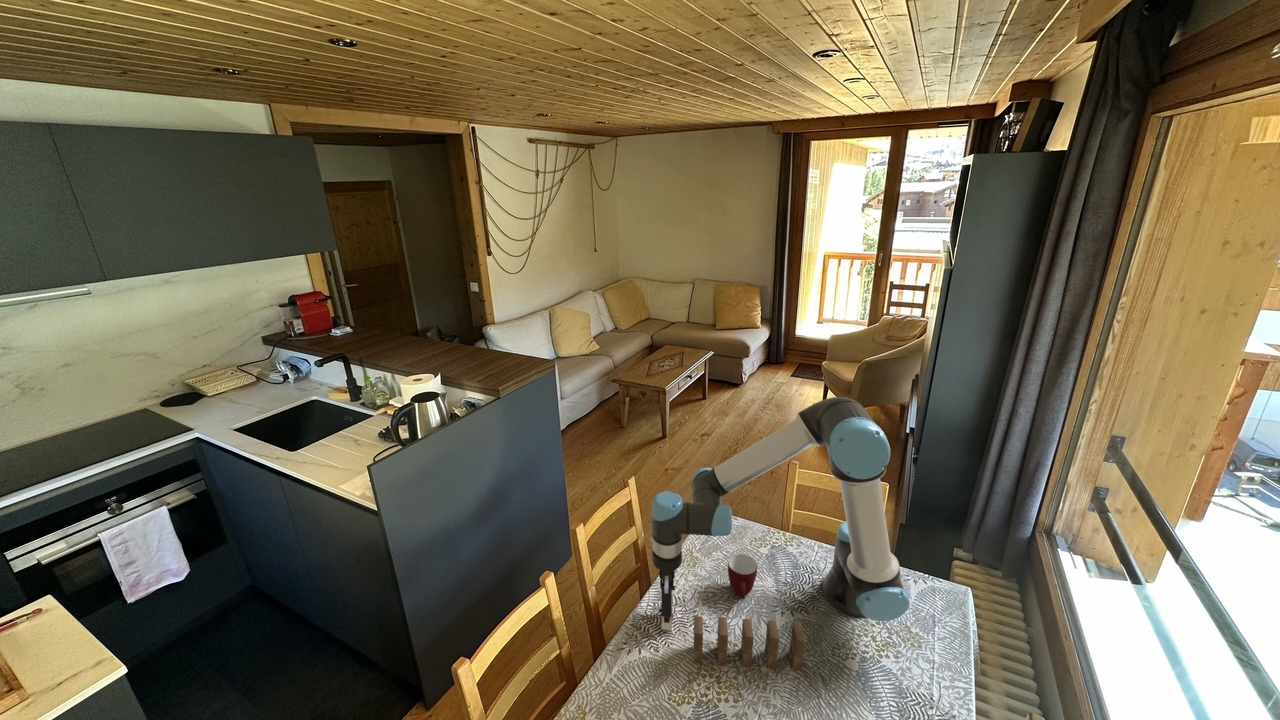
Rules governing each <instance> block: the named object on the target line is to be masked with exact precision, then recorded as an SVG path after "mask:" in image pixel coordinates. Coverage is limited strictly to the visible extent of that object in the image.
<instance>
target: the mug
mask: <svg viewBox="0 0 1280 720" xmlns="http://www.w3.org/2000/svg"><path fill="white" fill-rule="evenodd" d="M727 563H728V564H727V574H728V579H729V585H730V588H731V589H732V592H733V593H734V594H735V596H738V597H739V599H740V600H741V599H742V600H744V599H745V597H747V596H748V594H750V592H751V591H752V589H753V587H754V585H755V582H756V580H757V579H756V578H757V575H758V573H757V572H758V564H757V561H756V560H755V559H754V558H753V557H751V556H750V555H748V554H742V553H741V554H740V553H738V554H734V555H732V556H730V558H729V559H728V562H727Z"/></svg>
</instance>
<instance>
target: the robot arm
mask: <svg viewBox="0 0 1280 720" xmlns="http://www.w3.org/2000/svg"><path fill="white" fill-rule="evenodd" d="M823 445H825V446H826V452H827V457H828V462H829V468H830V473H831V475H833V477H834V478H836V479H837V480H838V481H839V485H840V490H841V497H842V502H843V509H844V514H845V515H844V516H845V521H843V522H842V523H840V524H839V526H837V527H838V529H837V531H836V535H835V536H836V537H835V538H836V539H835V544H834V545H835V546H834V551H833V552H834V553H833V561H832V566H831V568H830V569H829V571H828V572H827V574H826V575H825V577H824V579H823V585H822V593H823V595H824V597H825V599H826V600H827V602H828V603H830V605H831V606H833V607H834V608H835V609H837V610H838V611H840V612H842V613H845V615H850V616H852V617H853V616H854V617H858V618H859V617H860V618H861V617H865V618H867V619H870V620H871V621H874V622H889V621H891V622H892V621H894V620H896V619H899V618H900V617H902V616H903V615H904V614H906V613H907V612H908V610H909V609H910V605H911V604H910V603H911V602H910V598H909V593H908V592H907V590H905V588H904V585H903V582H902V577H901V576H902V575H901V569H900V563H899V559H898V558H897V557H896V556H895V555H894V554H893V553H892V552H891V547H890V541H889V540H890V539H889V535H888V534H889V532H888V527H887V525H888V524H887V519H886V511H885V510H886V509H885V504H884V497H883V496H884V495H883V491H882V483H881V482H882V481H881V478H882V477H884V475H885V474H886V471H887V466H888V464H889V462H890V458H891V447H890V444H889V441H888V438H887V435H886V434H885V432H884V431H883V430H882V428H881V427H880V426H879V425H878V424H876V423H875V421H874V420H873V419H872V417H871V416H870V415H869V413H868V412H867V410H866V409H865V408H864V406H863V405H861V403H859V402H858V401H856V400H854V399H852V398H850V397H845V396H834V397H827V398H825V399H822V400H819V401H818V402H815V403H813V404H811V405H809V406H807V407H806V408H804V409H802V410H800V411H799V412H797V414H796V418H795V419H794V420H791V421H790V422H789V423H787V424H786V425H783V426H782V427H780V428H779V429H777V430H776V431H774V432H772V433H770V434H768V435H767V436H766V437H764V438H762V439H760V440H758V441H757V442H755V443H753V444H752V445H750V446H749V447H747V448H745V449H743V450H742V451H740V452H738V453H736V454H735V455H734V456H731V457H730V458H728V459H727V460H724V461H723V462H721V463H720V464H718V465H716V466H715V467H714V468H711V467H701V468H699V469H697V470H696V471H695V472H694V473H693V475H692V482H691V491H692V493H691V494H692V495H691V496H692V499H691V500H692V501H691V502H686V501H685V502H684V501H683V498H682V496H681V495H680V494H679V493H677V492H675V493H674V492H673V491H669V490H665V491H662V492H659V493H657V494H655V496H654V497H653V499H652V502H651V503H652V504H651V534H652V535H651V536H652V537H649V541H650V542H651V543H652V555H651V556H652V564H653V565H654V568H656V569H657V570H659V571H658V572H659V573H658V577H659V581H660V582H659V583H660V584H659V588H660V591H661V593H660V594H661V608H658V613H660V616H661V630H663V629H666V630H671V631H672V630H673V607H674V606H673V605H674V603H673V602H674V601H673V595H674V591H676V589H675V588H676V586H675V585H674V582H675V581H674V580H675V577H676V576H675V574H676V572H675V571H676V570H677V569H679V568H680V567H681V565H682V562H683V535H688V536H689V535H691V536H692V535H693V536H708V537H710V536H711V537H724V536H725V537H727V536H729V535H731V533H732V526H733V517H732V515H733V512H732V507H731V505H729V504H727V503H726V504H725V503H723V502H722V498H723V497H725V496H726V495H727V494H730V493H731V492H733V491H735V490H737V489H739V488H740V487H741V486H744V485H746V484H747V483H750V481H752V480H754V479H756V478H758V477H759V476H762V475H763V474H765V473H767V472H768V471H770V470H772V469H774V468H776V467H777V466H779V465H781V464H783V463H785V462H786V461H788V460H789V459H792V458H793V457H796V456H797V455H798V454H800V453H802V452H804V451H806V450H808V449H810V448H811V447H814V446H815V447H821V446H823Z"/></svg>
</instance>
